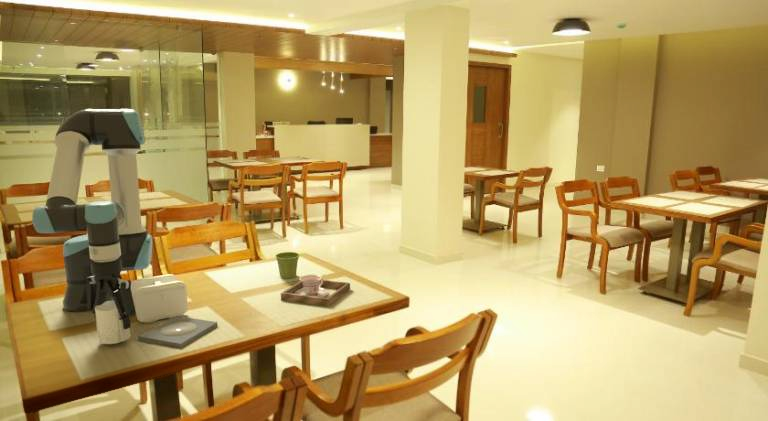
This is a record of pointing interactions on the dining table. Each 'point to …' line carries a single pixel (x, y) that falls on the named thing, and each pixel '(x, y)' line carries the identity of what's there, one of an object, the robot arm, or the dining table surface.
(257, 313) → the dining table surface
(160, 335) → the slate mat
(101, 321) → the white cup
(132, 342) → the dining table surface
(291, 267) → the plant pot
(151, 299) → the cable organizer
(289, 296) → the teacup tray rim
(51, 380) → the dining table surface
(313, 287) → the teacup
